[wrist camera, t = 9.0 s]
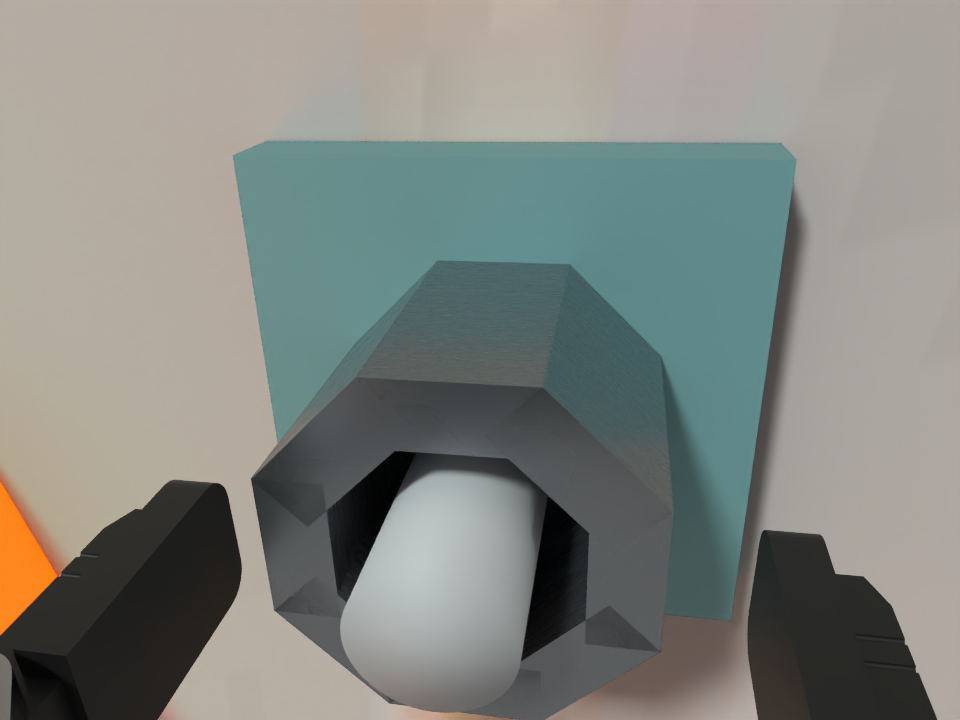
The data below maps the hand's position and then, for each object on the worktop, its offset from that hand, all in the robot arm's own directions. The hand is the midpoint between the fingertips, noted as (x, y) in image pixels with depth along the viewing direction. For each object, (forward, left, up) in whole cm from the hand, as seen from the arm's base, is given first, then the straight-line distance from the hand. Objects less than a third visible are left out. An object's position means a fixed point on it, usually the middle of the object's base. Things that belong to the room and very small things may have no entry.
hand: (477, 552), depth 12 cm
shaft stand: (0, 0, -6) cm, 6 cm away
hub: (0, 0, -5) cm, 5 cm away
